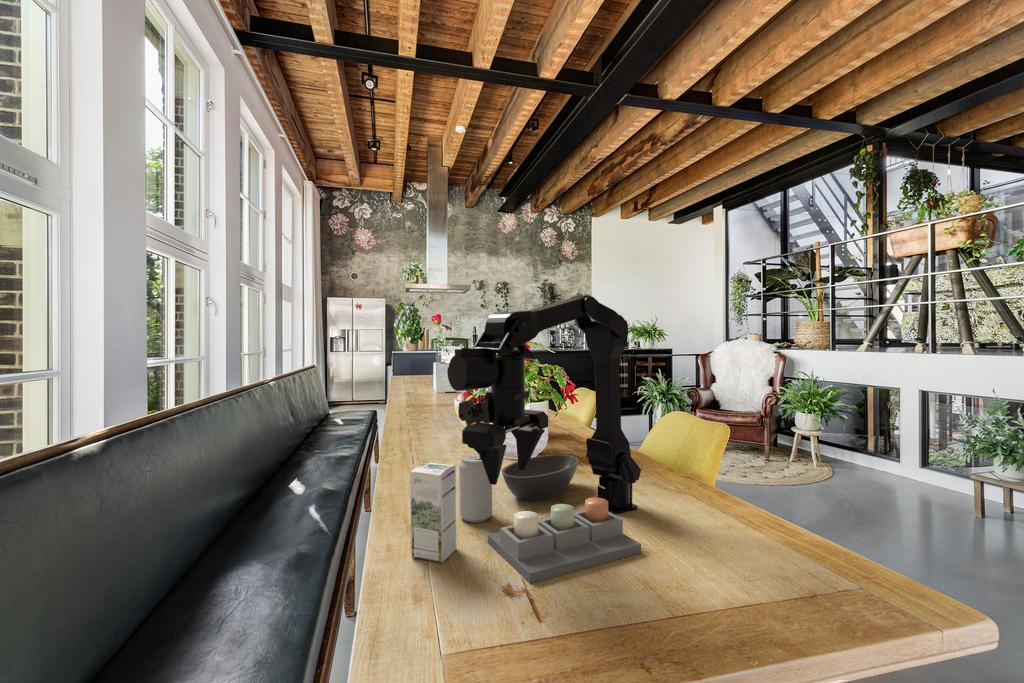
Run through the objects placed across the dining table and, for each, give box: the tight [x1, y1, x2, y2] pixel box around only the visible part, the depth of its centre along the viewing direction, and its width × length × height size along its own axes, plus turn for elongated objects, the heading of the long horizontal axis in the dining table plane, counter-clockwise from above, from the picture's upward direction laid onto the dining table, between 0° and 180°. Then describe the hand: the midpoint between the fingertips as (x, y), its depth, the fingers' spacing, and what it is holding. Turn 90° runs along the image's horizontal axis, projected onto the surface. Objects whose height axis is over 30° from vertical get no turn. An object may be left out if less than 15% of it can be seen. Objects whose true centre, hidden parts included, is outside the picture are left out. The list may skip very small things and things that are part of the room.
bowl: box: [501, 454, 580, 502], centre depth 112 cm, size 12×22×6 cm, turn 135°
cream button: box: [513, 510, 540, 540], centre depth 80 cm, size 4×4×3 cm
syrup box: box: [409, 462, 457, 563], centre depth 82 cm, size 6×6×14 cm
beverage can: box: [458, 453, 493, 523], centre depth 97 cm, size 6×6×12 cm
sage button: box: [550, 503, 576, 531], centre depth 83 cm, size 4×4×3 cm
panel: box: [487, 509, 642, 584], centre depth 84 cm, size 21×15×4 cm
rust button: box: [584, 497, 609, 524], centre depth 87 cm, size 4×4×3 cm
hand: (508, 476), depth 84 cm, fingers open, 9 cm apart
